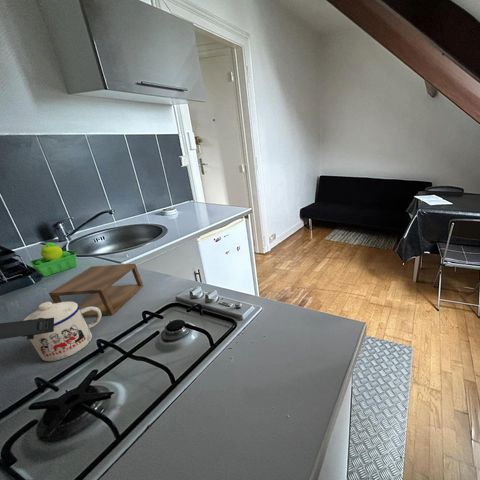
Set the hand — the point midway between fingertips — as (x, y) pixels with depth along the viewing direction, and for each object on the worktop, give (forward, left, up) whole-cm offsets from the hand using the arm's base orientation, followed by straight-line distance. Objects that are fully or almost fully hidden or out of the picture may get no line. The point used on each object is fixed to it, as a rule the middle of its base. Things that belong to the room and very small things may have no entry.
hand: (6, 331), depth 49 cm
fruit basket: (-35, +46, -10) cm, 59 cm away
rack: (-2, +24, -10) cm, 26 cm away
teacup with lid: (+3, +7, -10) cm, 13 cm away
